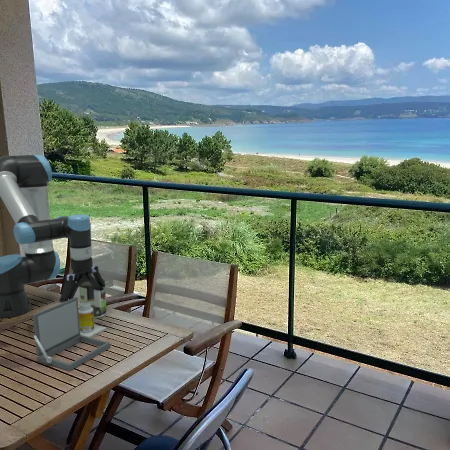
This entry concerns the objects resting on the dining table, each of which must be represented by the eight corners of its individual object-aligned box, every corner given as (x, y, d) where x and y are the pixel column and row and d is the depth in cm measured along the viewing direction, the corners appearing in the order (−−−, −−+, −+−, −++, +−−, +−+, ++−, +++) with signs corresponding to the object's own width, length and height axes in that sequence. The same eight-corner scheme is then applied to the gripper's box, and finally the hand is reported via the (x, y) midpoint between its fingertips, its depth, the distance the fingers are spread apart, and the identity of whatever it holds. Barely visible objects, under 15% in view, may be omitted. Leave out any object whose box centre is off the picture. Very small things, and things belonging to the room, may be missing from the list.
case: (34, 362, 142) (29, 315, 139) (79, 339, 159) (75, 297, 156) (67, 372, 135) (63, 324, 132) (110, 347, 152) (107, 303, 149)
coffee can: (111, 310, 186) (109, 278, 183) (99, 320, 176) (97, 286, 173) (88, 309, 188) (86, 277, 185) (76, 318, 178) (73, 284, 175)
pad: (66, 334, 163) (66, 332, 163) (86, 324, 172) (86, 322, 172) (86, 339, 158) (86, 337, 158) (106, 329, 167) (106, 327, 167)
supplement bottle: (95, 331, 163) (93, 305, 161) (79, 334, 161) (77, 307, 160) (94, 326, 168) (92, 300, 167) (78, 328, 167) (76, 302, 165)
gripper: (61, 267, 147) (65, 327, 151) (113, 251, 169) (115, 303, 173) (46, 264, 151) (50, 322, 155) (98, 248, 172) (101, 300, 177)
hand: (84, 312), depth 164 cm, fingers open, 13 cm apart
